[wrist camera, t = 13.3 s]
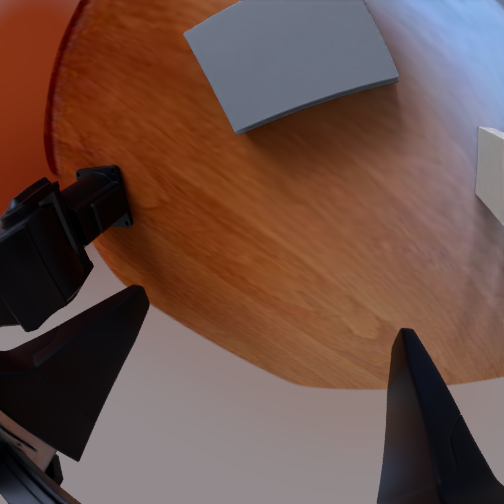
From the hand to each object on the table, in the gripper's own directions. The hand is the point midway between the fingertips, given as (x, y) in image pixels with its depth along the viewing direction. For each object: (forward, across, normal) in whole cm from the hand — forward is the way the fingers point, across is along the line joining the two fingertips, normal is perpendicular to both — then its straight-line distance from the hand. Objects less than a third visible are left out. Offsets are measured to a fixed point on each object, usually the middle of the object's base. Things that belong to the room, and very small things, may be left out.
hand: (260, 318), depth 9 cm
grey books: (+13, +1, -9) cm, 16 cm away
